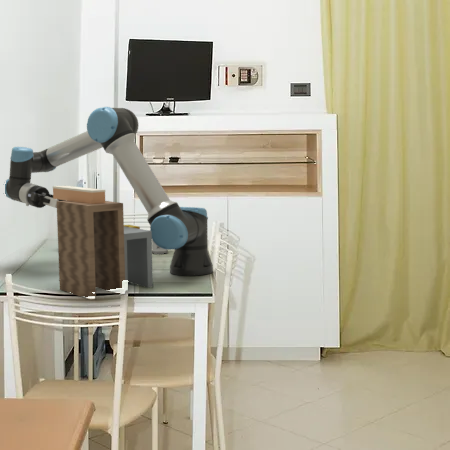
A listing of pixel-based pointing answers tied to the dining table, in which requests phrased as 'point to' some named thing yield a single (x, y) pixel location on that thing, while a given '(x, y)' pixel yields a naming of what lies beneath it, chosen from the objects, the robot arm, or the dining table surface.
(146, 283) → the grey bench
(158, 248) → the travel mug
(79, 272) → the walnut stand
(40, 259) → the dining table surface
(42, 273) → the dining table surface
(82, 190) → the slim box
